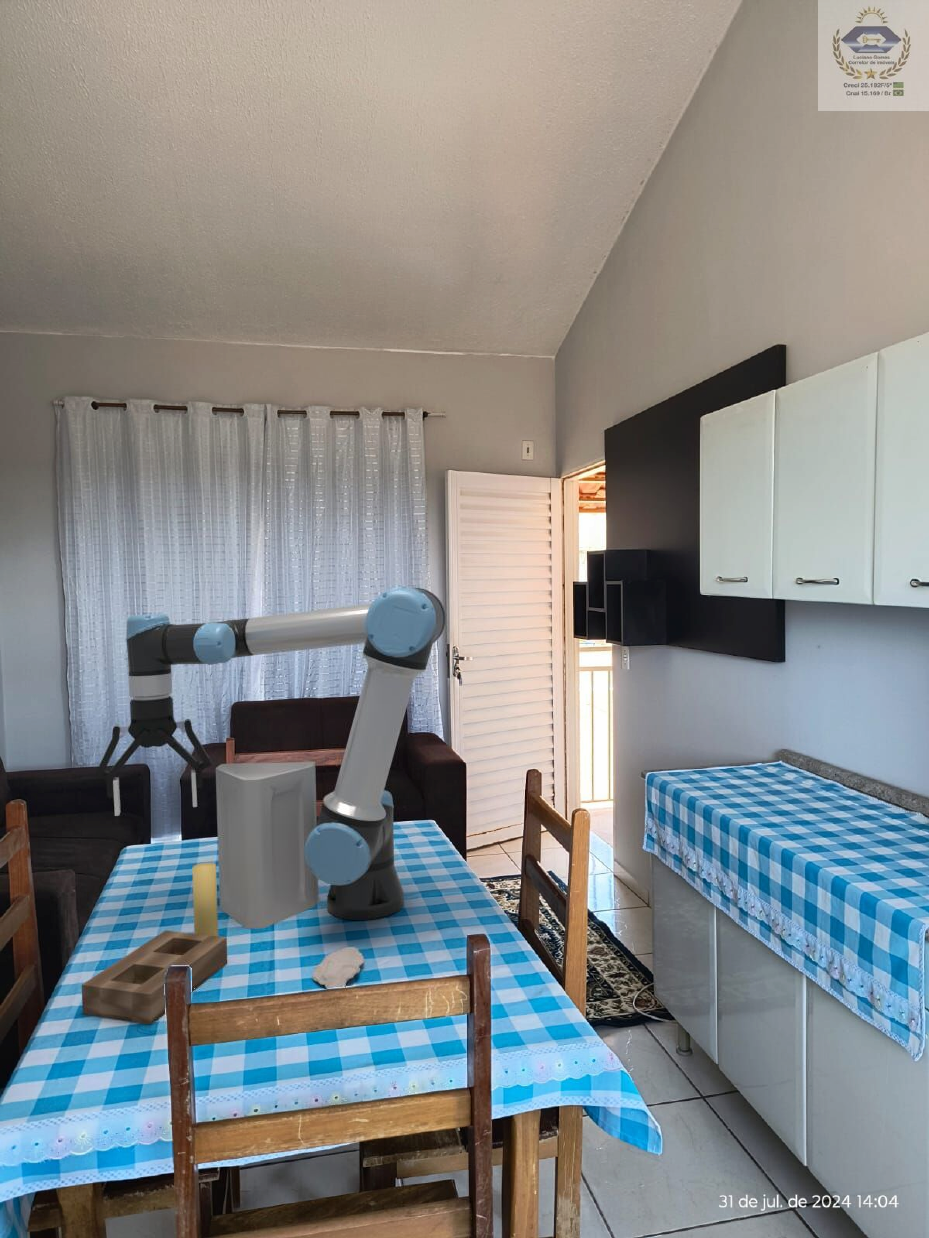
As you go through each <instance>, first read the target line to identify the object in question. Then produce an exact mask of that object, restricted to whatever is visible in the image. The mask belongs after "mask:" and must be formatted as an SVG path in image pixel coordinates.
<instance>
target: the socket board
mask: <svg viewBox="0 0 929 1238" xmlns="http://www.w3.org/2000/svg"><path fill="white" fill-rule="evenodd" d="M227 940H228V939H227V936H219V935H218V936H211V935H202V934H194V932H192V933H191V932H183V931H173V930H164V931H162V932H161V933H160V934H158V935H156V936H155V937H153V938H151V939H150V940H148V941H147V942H146V943H144V944H143V945H141V946H139V947H138V948H136V949H135V950H133V951H132V952H130V953H129V954H126V955H125V956H124V957H122V958H121V959H119V960H117V961H116V962H114V963H113V964H111V965H110V966H108V967H106V968H105V969H104V970H102V971H101V972H99V973H97V974H96V975H94V976H93V977H92V978H90V979H88V980H87V981H85V982H84V983H82V984H81V1003H82V1004H81V1005H82V1006H81V1007H82V1016H83V1015H85V1016H90V1017H97V1018H104V1019H111V1020H118V1021H123V1022H124V1021H125V1022H129V1023H130V1022H131V1023H138V1024H145V1025H150V1026H151V1025H153V1024H154V1023H155V1022H157V1021H158V1020H159V1019H160V1018H162V1017H163V1016H164V1015H166V1013H165V995H164V984H165V973H166V972H167V969H168V967H170V966H171V965H189V966H190V967H191V968H192V992H191V993H193V992H194V991H195V990H196V989H198V988H199V987H201V985H202V984H204V983H205V982H206V981H208V980H209V979H210V978H211V977H213V976H214V975H215V974H217V973H218V971H220V970H221V969H223V968H224V967H225V966H226V965H228V941H227ZM197 987H198V988H197ZM194 988H195V990H194Z"/></svg>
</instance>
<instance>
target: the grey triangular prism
mask: <svg viewBox="0 0 929 1238" xmlns="http://www.w3.org/2000/svg"><path fill="white" fill-rule="evenodd" d="M316 779H317V777H316V762H315V761H301V762H300V761H297V762H296V761H295V762H294V761H291V762H284V761H283V762H247V763H246V762H245V763H243V762H242V763H221V764H220V765H218V766H217V767H215V786H216V789H215V791H216V821H217V822H216V823H217V847H218V848H217V854H218V855H217V856H218V884H219V885H218V886H219V887H218V889H219V895H218V896H219V910H220V911H222V912H223V913H225V914H226V915H228V916H229V917H230V918H232V919H233V920H235V921H236V922H237V923H239V924H240V925H242V926H243V927H244V928H246V929H249V930H254V929H255V930H261V929H265V928H268V927H270V926H273V925H275V924H277V923H279V922H282V921H284V920H286V919H289V918H291V917H294V916H296V915H298V914H301V913H303V912H305V911H307V910H310V909H312V908H314V907H316V906H317V904H318V902H319V879H318V878H317V877H316V876H315V875H314V874H313V873H312V871H311V870H310V868H309V866H308V865H307V863H306V860H305V855H304V848H305V843H306V840H307V838H308V836H309V834H310V833H311V831H312V830H313V829H314V828H315V827H316V825H317V821H318V818H317V790H316V789H317V788H316V787H317V785H316V782H317V781H316Z"/></svg>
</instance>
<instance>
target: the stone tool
mask: <svg viewBox="0 0 929 1238" xmlns="http://www.w3.org/2000/svg"><path fill="white" fill-rule="evenodd" d="M364 958H365V957H364V956H363V954H362V953H361V952H360V951H359V949H358V948H357V947H353V946H346V947H344V948H341V949H339V950H337V951H333V952H331V953H329V954H328V955H327V956H325V957H323V959H322V961H321V962H320V963H318V964H317V965H315V966H314V970H313V974H312V976H311V978H312V980H313V981H315V982H317V983H318V984H320V985H321V986H325V988H326V989H327V988H333V987H343V986H345V987H346V984H347V982H348V981H350V979H353V978H354V976H356V975H357V974H359V973H360V971H361V968H360V967H361V966H362V965H364V962H365V959H364Z"/></svg>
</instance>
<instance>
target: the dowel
mask: <svg viewBox="0 0 929 1238" xmlns="http://www.w3.org/2000/svg"><path fill="white" fill-rule="evenodd" d="M217 886H218V885H217V865H216V863H214V862H202V863H198V864H195V865H193V866H192V894H193V895H192V897H193V900H192V901H193V927H194V928H193V929H194V931H193V934H202V935H211V936H219V930H218V929H219V927H218V925H219V923H218V922H219V921H218V895H217V894H218V890H217V889H218V888H217Z"/></svg>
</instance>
